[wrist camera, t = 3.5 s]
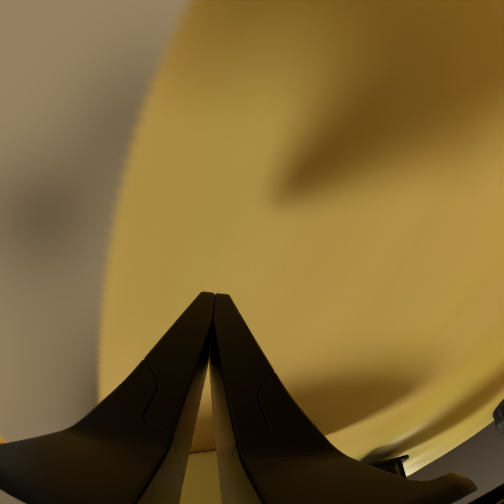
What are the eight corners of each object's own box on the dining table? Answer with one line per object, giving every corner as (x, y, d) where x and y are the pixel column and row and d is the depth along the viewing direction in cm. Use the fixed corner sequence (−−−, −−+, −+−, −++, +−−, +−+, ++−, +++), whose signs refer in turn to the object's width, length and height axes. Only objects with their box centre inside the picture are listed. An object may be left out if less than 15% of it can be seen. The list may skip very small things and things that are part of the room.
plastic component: (148, 465, 25) (140, 541, 16) (98, 438, 22) (81, 525, 13) (325, 436, 21) (343, 539, 13) (296, 404, 18) (315, 545, 9)
